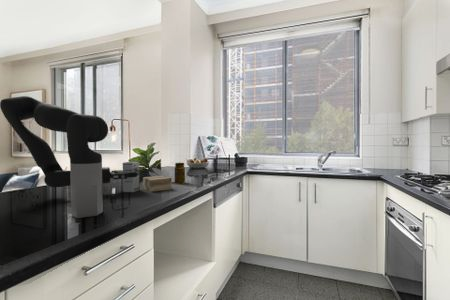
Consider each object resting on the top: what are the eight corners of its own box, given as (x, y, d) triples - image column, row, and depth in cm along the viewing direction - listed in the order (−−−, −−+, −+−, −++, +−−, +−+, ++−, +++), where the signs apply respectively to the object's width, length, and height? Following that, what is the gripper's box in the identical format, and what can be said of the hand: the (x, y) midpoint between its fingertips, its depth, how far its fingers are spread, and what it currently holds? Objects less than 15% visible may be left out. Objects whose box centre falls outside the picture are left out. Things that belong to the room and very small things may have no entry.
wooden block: (171, 189, 124) (171, 177, 123) (150, 192, 117) (150, 180, 117) (163, 186, 132) (162, 175, 132) (143, 188, 126) (142, 177, 125)
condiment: (187, 183, 142) (187, 162, 141) (175, 184, 136) (175, 163, 135) (180, 181, 147) (180, 162, 147) (168, 183, 141) (168, 163, 141)
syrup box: (133, 192, 115) (133, 162, 115) (122, 191, 116) (122, 162, 116) (140, 190, 121) (139, 161, 120) (129, 189, 122) (129, 161, 121)
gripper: (98, 169, 105) (137, 167, 113) (98, 166, 117) (133, 164, 125) (99, 186, 105) (137, 183, 113) (98, 181, 118) (133, 179, 125)
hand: (135, 173), depth 119 cm, fingers open, 8 cm apart
